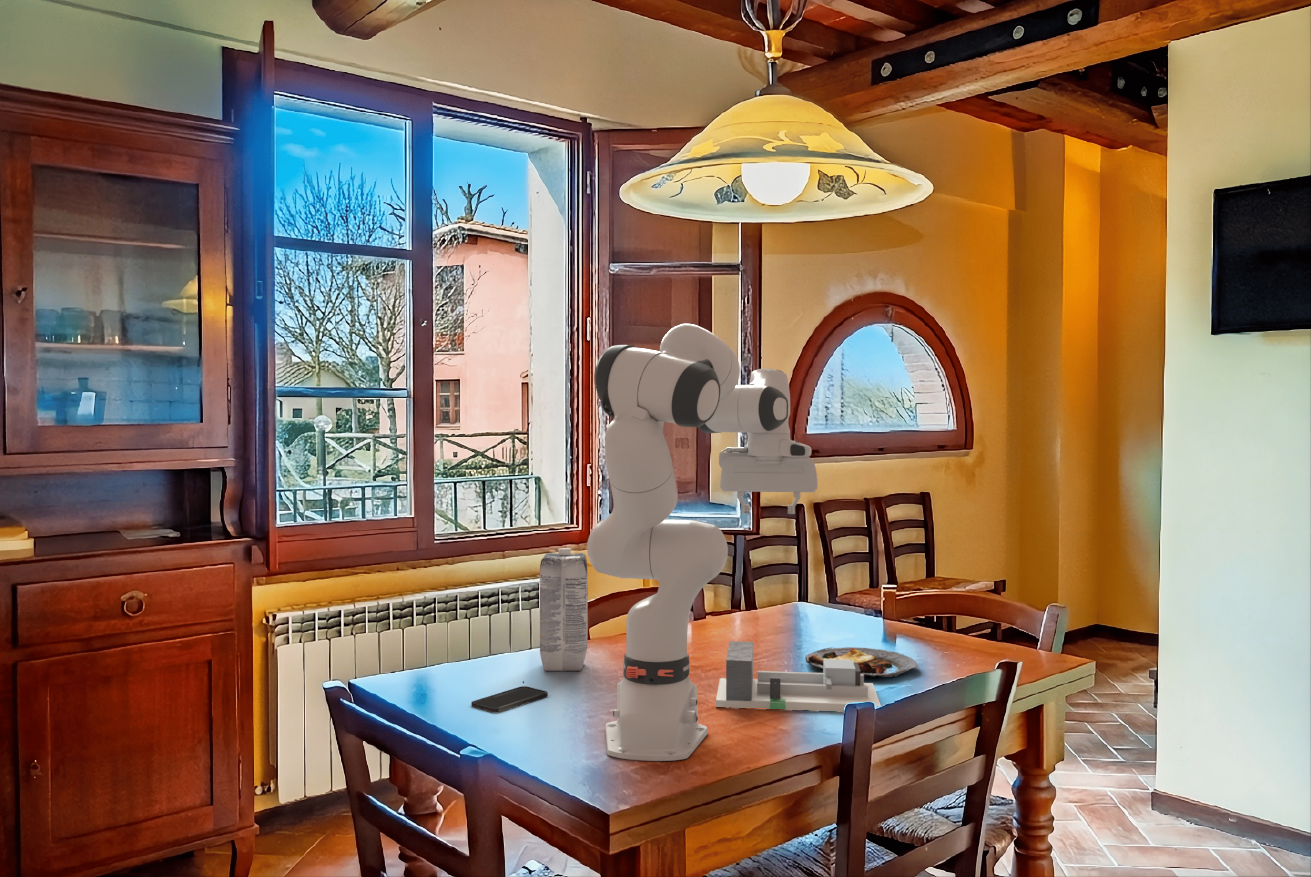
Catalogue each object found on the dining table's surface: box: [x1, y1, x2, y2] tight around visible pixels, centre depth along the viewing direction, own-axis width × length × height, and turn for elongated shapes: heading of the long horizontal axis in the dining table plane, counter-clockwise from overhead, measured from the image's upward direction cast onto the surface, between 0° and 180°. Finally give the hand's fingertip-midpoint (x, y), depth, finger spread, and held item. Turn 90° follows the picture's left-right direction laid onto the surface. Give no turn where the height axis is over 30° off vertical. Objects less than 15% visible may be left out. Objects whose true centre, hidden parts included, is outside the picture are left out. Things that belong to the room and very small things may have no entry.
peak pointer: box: [770, 674, 780, 700], centre depth 198 cm, size 5×2×4 cm, turn 173°
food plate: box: [805, 646, 919, 678], centre depth 227 cm, size 25×23×4 cm
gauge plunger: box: [822, 659, 860, 689], centre depth 202 cm, size 12×7×5 cm, turn 173°
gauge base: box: [715, 670, 882, 713], centre depth 203 cm, size 16×32×4 cm, turn 83°
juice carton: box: [539, 547, 588, 672], centre depth 227 cm, size 9×10×27 cm
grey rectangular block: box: [725, 640, 754, 701], centre depth 204 cm, size 16×5×8 cm, turn 173°
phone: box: [471, 685, 549, 713], centre depth 201 cm, size 8×1×15 cm
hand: (768, 513), depth 209 cm, fingers open, 8 cm apart
